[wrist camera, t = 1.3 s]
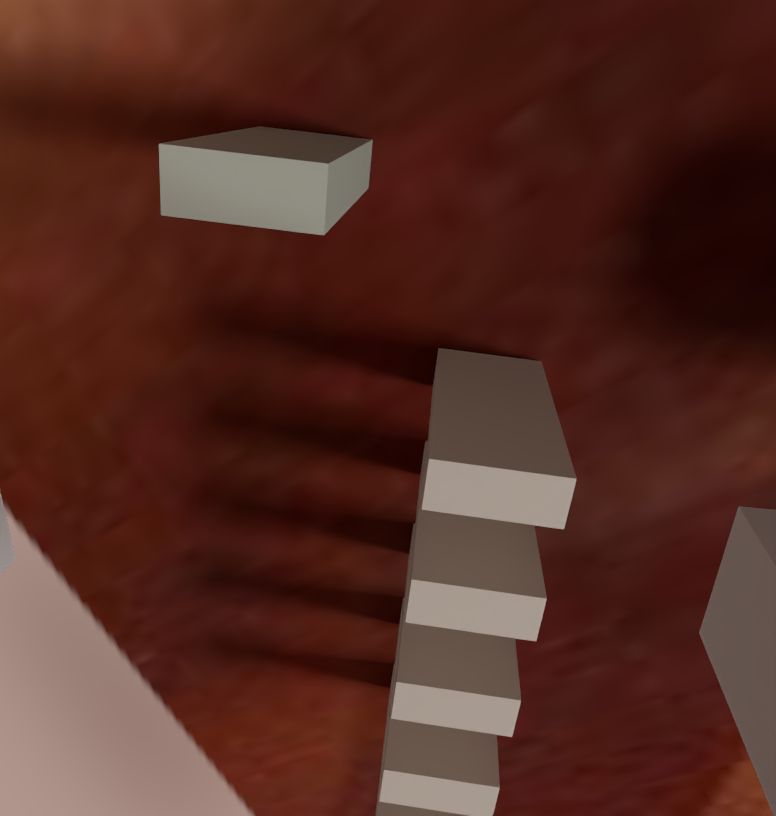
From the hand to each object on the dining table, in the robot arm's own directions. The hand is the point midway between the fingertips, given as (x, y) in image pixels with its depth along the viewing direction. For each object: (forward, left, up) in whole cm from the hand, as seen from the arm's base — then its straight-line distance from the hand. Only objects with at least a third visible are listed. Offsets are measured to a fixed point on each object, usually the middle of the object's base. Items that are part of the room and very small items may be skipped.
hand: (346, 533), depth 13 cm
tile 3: (+8, +4, -18) cm, 20 cm away
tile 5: (+17, +4, -18) cm, 25 cm away
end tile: (-4, -4, -18) cm, 19 cm away
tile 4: (+13, +4, -18) cm, 22 cm away
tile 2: (+4, +4, -18) cm, 19 cm away
